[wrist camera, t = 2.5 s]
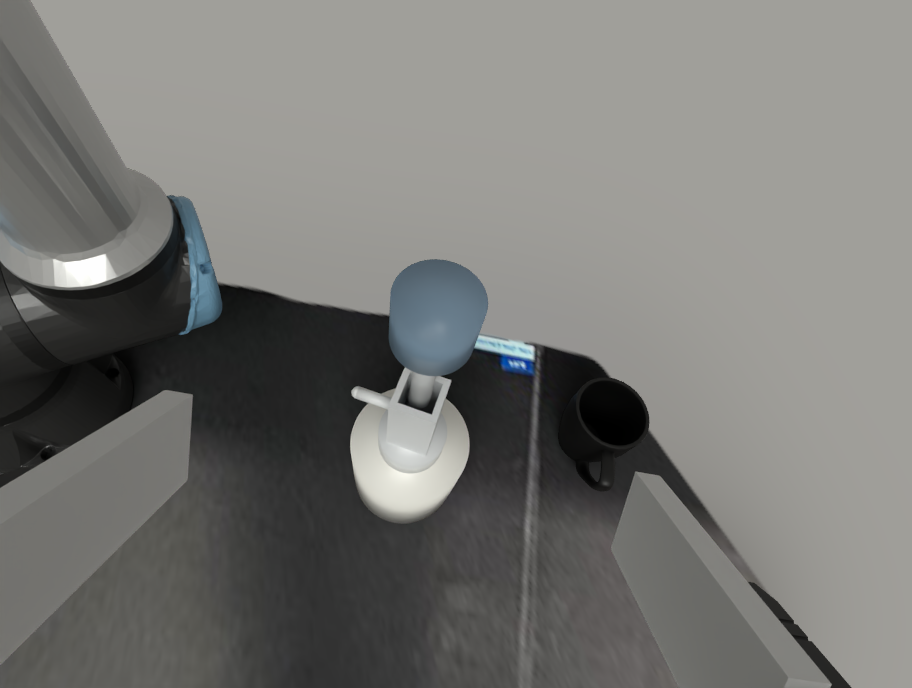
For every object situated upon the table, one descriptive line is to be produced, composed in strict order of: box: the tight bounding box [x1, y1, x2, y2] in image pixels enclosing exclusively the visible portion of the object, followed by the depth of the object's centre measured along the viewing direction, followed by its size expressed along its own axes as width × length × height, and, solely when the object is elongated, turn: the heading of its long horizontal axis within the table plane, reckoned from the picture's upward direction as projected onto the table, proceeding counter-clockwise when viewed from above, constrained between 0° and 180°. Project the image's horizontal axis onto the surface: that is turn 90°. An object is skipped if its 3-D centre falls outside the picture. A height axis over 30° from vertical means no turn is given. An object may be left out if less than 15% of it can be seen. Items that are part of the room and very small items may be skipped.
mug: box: [558, 377, 649, 491], centre depth 53 cm, size 8×12×10 cm
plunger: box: [389, 259, 488, 408], centre depth 30 cm, size 5×5×13 cm
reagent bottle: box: [350, 367, 469, 524], centre depth 44 cm, size 11×11×22 cm
